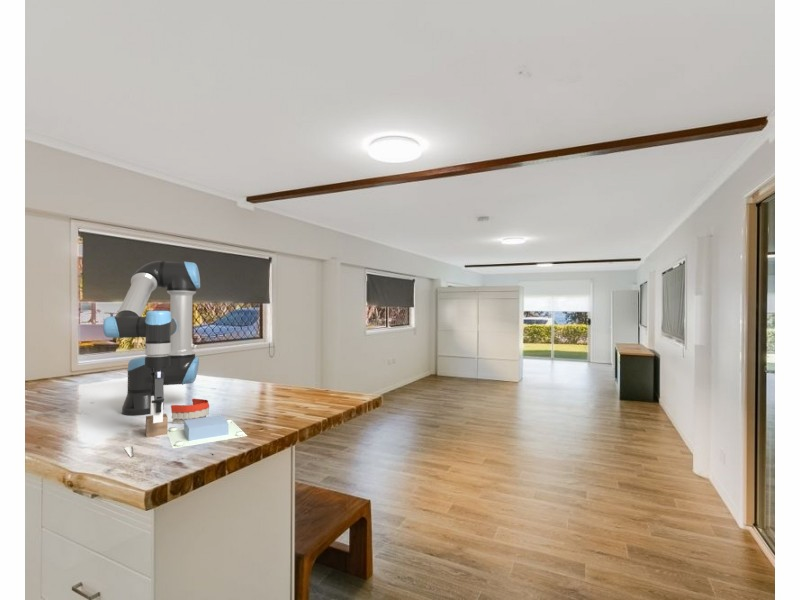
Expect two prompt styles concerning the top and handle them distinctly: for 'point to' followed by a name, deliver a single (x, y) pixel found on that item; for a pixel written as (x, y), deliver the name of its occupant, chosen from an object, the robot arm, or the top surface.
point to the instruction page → (129, 451)
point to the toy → (190, 411)
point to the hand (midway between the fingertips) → (156, 418)
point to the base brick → (205, 427)
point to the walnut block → (156, 426)
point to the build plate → (180, 439)
